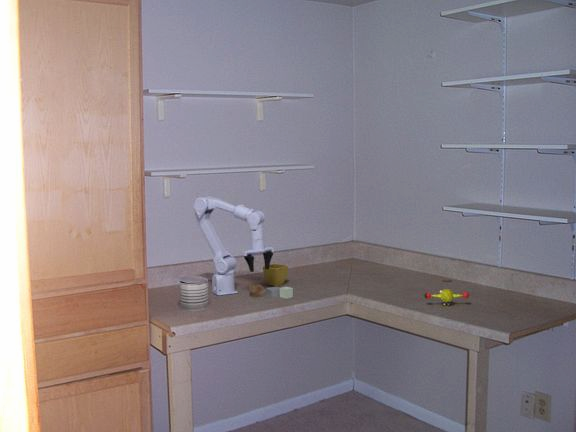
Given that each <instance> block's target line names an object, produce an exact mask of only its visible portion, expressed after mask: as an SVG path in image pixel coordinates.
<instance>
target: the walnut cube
mask: <svg viewBox="0 0 576 432" xmlns="http://www.w3.org/2000/svg"><path fill="white" fill-rule="evenodd" d="M248 287H249V288H248V289H249V297H251V298H252V299H253V298H254V299H255V298H261V297H264V285H261V284H251V285H249V286H248Z"/></svg>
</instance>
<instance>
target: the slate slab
mask: <svg viewBox="0 0 576 432" xmlns="http://www.w3.org/2000/svg"><path fill="white" fill-rule="evenodd" d="M280 288H281V287H279V286H271V287H265V295H267V296H269V297H271V298H277V297H280Z"/></svg>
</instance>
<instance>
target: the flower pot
mask: <svg viewBox="0 0 576 432" xmlns="http://www.w3.org/2000/svg"><path fill="white" fill-rule="evenodd" d="M288 270H289V265H287V264H286V265H285V264H280V263H272V264H271V263H270V265H269V269H265V265H264V266H262V271H263V277H264V281H265V282H266V283H267V285H269V286H272V287H279V286H282V285H284V283H285V281H286V280H287V277H288V272H289V271H288Z"/></svg>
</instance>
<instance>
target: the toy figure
mask: <svg viewBox="0 0 576 432" xmlns="http://www.w3.org/2000/svg"><path fill="white" fill-rule="evenodd" d="M432 297H434V298H440V300H441V301H443V305H445V306H446V305H447V306H448V307H450V302H451V301H452V300H454V298H459V297H462V298H464V299H468V298H469V297H470V294H469V293H468V292H467V291H466V292H463V293H462V294H460V293H458V294H454V293H453V291H452V290H451V289H448V288H445V289H442V290H440V291H439V294H431V293H430V292H426V293H425V292H424V298H425V299H427V300H429V299H430V298H432Z"/></svg>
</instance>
